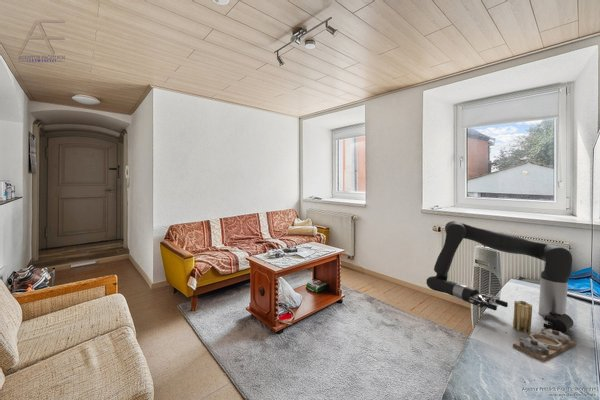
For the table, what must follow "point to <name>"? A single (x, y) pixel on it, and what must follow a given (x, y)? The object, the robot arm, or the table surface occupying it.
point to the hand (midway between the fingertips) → (501, 306)
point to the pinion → (522, 316)
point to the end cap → (558, 322)
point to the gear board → (545, 344)
